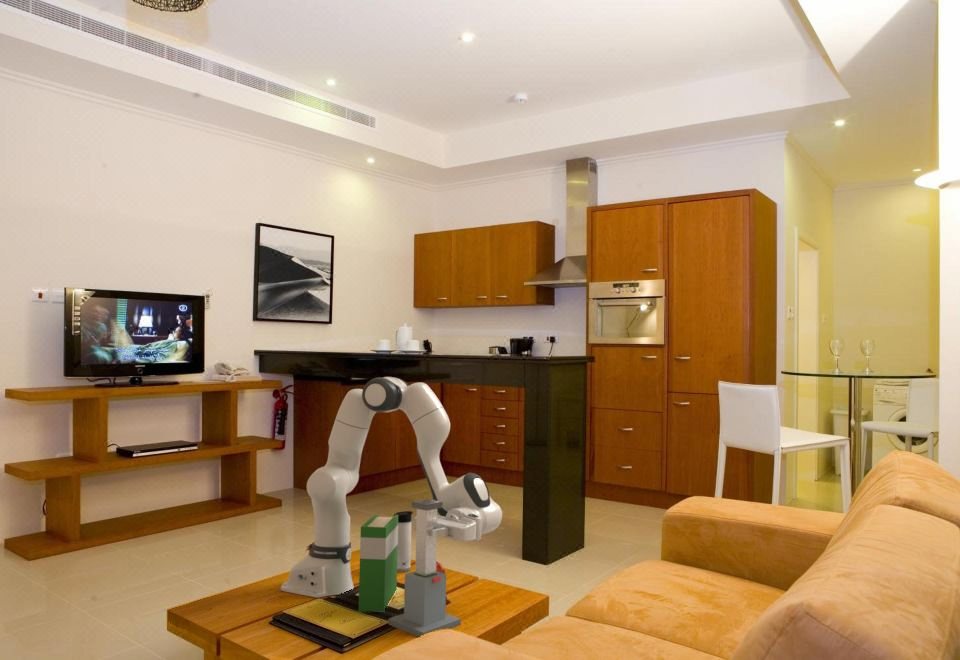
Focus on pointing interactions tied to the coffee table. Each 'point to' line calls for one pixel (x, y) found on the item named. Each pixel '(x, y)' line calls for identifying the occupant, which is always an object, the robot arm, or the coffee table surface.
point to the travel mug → (404, 541)
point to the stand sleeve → (424, 605)
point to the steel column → (426, 536)
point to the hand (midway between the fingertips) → (424, 531)
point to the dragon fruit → (439, 568)
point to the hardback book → (378, 562)
